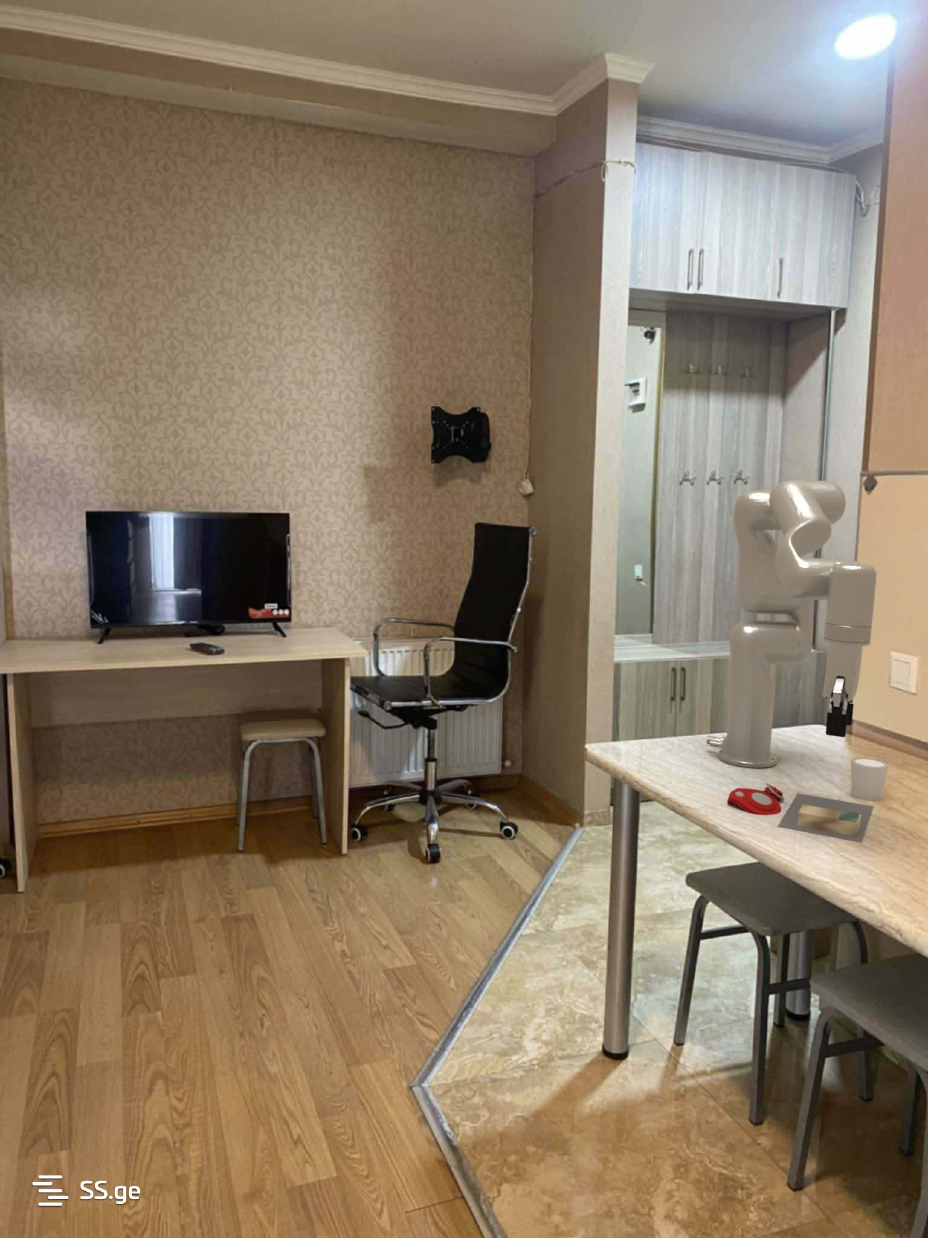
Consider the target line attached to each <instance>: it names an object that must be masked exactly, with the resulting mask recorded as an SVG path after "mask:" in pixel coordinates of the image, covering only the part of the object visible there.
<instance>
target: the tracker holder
mask: <svg viewBox="0 0 928 1238" xmlns="http://www.w3.org/2000/svg"><path fill="white" fill-rule="evenodd" d="M765 783H766V784H765V785H766V787H765V788H764V790H760V789H754V788H747V787H737V788H735V789H733V790H731V792H730V793H729V794H728V798H727V804H729V805H731V804H735V805H737V806H738V807H739V808H740V809H741V810H743V811H745V812H746V813H749V814H752V815H758V816H772V815H778V814H780V813H781V811H782V806H781V804H780V801H785V798H784V796H783V794H784V793H783V792H782V790H780V789H779V788H777V787H776V786H773V785H771V784H770V783H768V782H765Z"/></svg>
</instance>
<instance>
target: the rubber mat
mask: <svg viewBox="0 0 928 1238" xmlns="http://www.w3.org/2000/svg"><path fill="white" fill-rule="evenodd" d="M802 805H809V806H815V807H820V808H826V809H832V810H837V811H848V812H853V813H859V814H860V815H861V823H860V829H859V832H858V835H857V837H855V836H850V835H845V834H839V833H834V832H829V831H823V830H818V829H813V828H807V827H802V826H797V823H798V812H799V810H800V809H801V807H802ZM873 810H874V806H873V805H868V804H862V803H858V802H857V803H856V802H850V801H843V800H839V799H833V798H827V797H822V796H815V795H810V794H804V793H796V795H795V797H794V798H793V800H792V802H791V803H790V805H789V806H788V808H787V810H786V811H785V813H784V815H783V816H782V818H781V820H780V822H779V823H778V825H777V828H782V829H788V830H792V831H797V832H802V833H803V832H804V833H808V834H815V835H818V836H819V835H820V836H823V837H828V838H834V839H839V840H846V841H850V842H856V843H861V844H862V843H863V840H864V836H865V834H866V830H867V828H868V824H869V821H870V819H871V816H872V813H873Z"/></svg>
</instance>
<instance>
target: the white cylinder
mask: <svg viewBox="0 0 928 1238" xmlns="http://www.w3.org/2000/svg"><path fill="white" fill-rule="evenodd" d="M850 762H851V765H850V766H851V769H850V770H851V771H850V773H851V774H850V776H851V777H850V778H851V779H850V780H851V783H850V785H851V792H850V793H851V796H852V797H853V798H856V799H858V800H862V801H867V802H868V801H869V802H877V801H881V800H882V799H883V793H884V788H885V782H886V779H887V775H888V767H889V765H888V763H886V762H885V761H881V760H879V759H874V758H873V759H872V758H865V757H864V758H863V757H862V758H860V757H858V758H853V759H851V761H850Z"/></svg>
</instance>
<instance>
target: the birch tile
mask: <svg viewBox="0 0 928 1238" xmlns="http://www.w3.org/2000/svg"><path fill="white" fill-rule="evenodd" d="M860 823H861V815H860V814H859V813H853V812H848V811H837V810H832V809H826V808H820V807H815V806H809V805H802V807H801V809H800V810H799V812H798V823H797V826H802V827H807V828H813V829H818V830H823V831H829V832H834V833H839V834H845V835H850V836H855V837H857V835H858V832H859V829H860Z"/></svg>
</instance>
